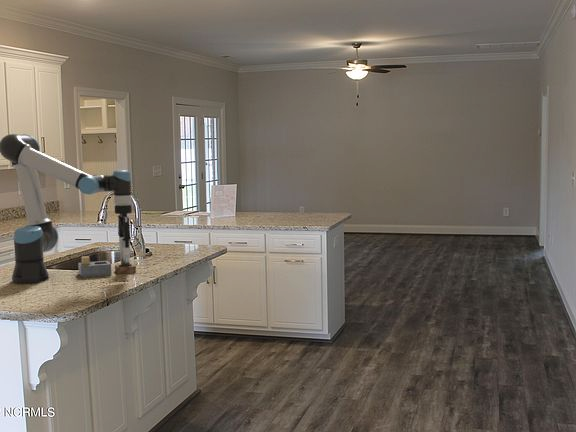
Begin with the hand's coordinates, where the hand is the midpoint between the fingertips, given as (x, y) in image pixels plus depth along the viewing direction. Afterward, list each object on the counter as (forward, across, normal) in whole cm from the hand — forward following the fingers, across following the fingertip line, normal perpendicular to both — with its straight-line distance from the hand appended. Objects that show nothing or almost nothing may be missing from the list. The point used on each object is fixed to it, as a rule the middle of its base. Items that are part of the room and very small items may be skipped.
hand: (124, 252), depth 306 cm
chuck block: (+10, 0, +14) cm, 17 cm away
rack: (+10, 0, 0) cm, 10 cm away
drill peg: (+9, 0, 0) cm, 9 cm away
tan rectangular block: (+8, 0, +17) cm, 19 cm away
